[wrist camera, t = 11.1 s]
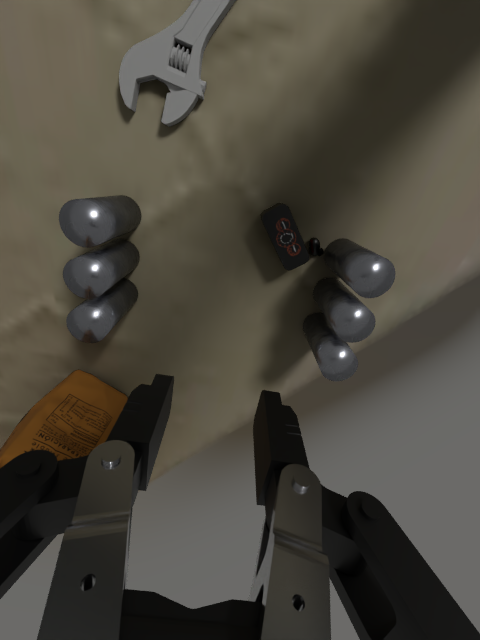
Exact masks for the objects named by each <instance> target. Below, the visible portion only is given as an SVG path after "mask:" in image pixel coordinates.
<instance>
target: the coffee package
mask: <svg viewBox="0 0 480 640" xmlns="http://www.w3.org/2000/svg"><path fill="white" fill-rule="evenodd" d="M127 400H128V398H127V396H126V395H125V394H123V393H121V392H119V391H118V390H116V389H115V388H113V387H111V386H109V385H107V384H105V383H104V382H102V381H100V380H99V379H98V378H96V377H95V376H93V375H92V374H89V373H86V372H83V371H81V370H76V371H74V372H72V373H71V374H70V375H69V376H68V377H67V378H66V379H64V380H63V381H62V382H61V383H60V384H58V385H57V386H56V387H55V388H54V389H53V390H51V391H50V392H49V393H48V394H47V395H45V396H44V397H43V398H42V399H41V400H40V401H39V402H38V403H37V404H35V405H34V406H33V407H32V408H31V409H30V411H29V412H28V413H27V414H26V415H25V416H24V417H23V418H22V420H21V421H20V422H19V423H18V425H17V426H16V428H15V429H14V431H13V432H12V433H11V435H10V436H9V438H8V439H7V441H6V442H5V444H4V445H3V447H2V448H1V450H0V468H1V467H3V466H4V465H5V464H7V463H8V462H9V461H11V460H12V459H13V458H15V457H17V456H18V455H20V454H23V453H25V452H28V451H32V450H47V451H50V452H52V453H53V454H54V455H55V456H56V458H57V461H59V460H66V459H72V458H78V457H83V456H86V455H89V454H90V453H91V452H92V450H93V449H94V448H95V447H97V446H98V445H100V444H102V443H104V442H105V441H106V440H107V438H108V436H109V434H110V432H111V430H112V428H113V426H114V425H115V423H116V421H117V419H118V417H119V415H120V413H121V411H122V410H123V407H124V405H125V404H126V403H127Z"/></svg>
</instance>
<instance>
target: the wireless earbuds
mask: <svg viewBox="0 0 480 640" xmlns="http://www.w3.org/2000/svg"><path fill="white" fill-rule="evenodd" d="M261 220H262V222H263V224H264V227H265V229H266V231H267V233H268V235H269V237H270V239H271V241H272V243H273V246H274V248H275V250H276V252H277V254H278V256H279V258H280V260H281V262H282V264H283V266H284V268H285V269H286V270H292V269H294V268H296V267H298V266H300V265H303V264H305V263H306V262H307V261H308V260H309V254H310V255H312V256H317V255H318V256H321V255H322V254H324V251H323V249H322V248H321V249H320V242H319V240H318V239H317V238H311V239H310V241H309V254H308V252H307V249H306V247H305V245H304V242H303V240H302V238H301V235H300V233H299V231H298V228H297V226H296V224H295V221H294V219H293V217H292V214H291V212H290V210H289V207H288V206H287V205H285V204H283V203H277V204H275V205H273V206H271V207H269V208H268V209H266V210H264V211H263V212H262V213H261Z"/></svg>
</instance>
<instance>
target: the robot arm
mask: <svg viewBox="0 0 480 640" xmlns="http://www.w3.org/2000/svg"><path fill="white" fill-rule="evenodd" d="M173 384H174V376H168V375H161V374H156V375H155V378H154V380H153V382H152V384H151V385H145V384H141V385H139V386H138V387H137V388H136V389H134V390H133V391H132V392H131V394H130V396H129V398H128V400H127V403H126V404H125V405H124V407H123V410H122V411H121V413H120V415H119V417H118V419H117V421H116V423H115V425H114V426H113V428H112V430H111V432H110V434H109V436H108V438H107V440H106V441H105V442H104V443H102V444H100V445H98V446H97V447H95V448H94V449H93V450H92V452H91V453H90V454H89V455H86V456H83V457H78V458H72V459H66V460H59V461H57V458H56V456H55V455H54V454H53V453H52V452H50V451H47V450H32V451H28V452H25V453H23V454H20V455H18V456H17V457H15V458H13V459H12V460H11V461H9V462H8V463H7V464H5V465H4V466H3V467H1V468H0V599H1V598H2V597H3V595H4V594H5V593H6V592H7V591H8V590H9V589H10V588H11V586H12V585H13V584H14V583H15V582H16V581H17V580H18V579H19V577H20V576H21V575H22V574H23V573H24V572H25V571H26V570H27V568H28V567H29V566H30V565H31V564H32V563H33V562H34V561H35V559H36V558H37V557H38V556H39V555H40V554H41V553H42V552H43V550H44V549H45V548H46V547H47V546H48V545H49V544H50V542H51V541H52V540H53V539H54V538H55V537H56V536H57V535H58V534H62V533H64V536H63V540H62V544H61V548H60V551H59V555H58V559H57V563H56V567H55V571H54V575H53V578H52V582H51V586H50V590H49V594H48V598H47V602H46V606H45V609H44V614H43V617H42V621H41V625H40V629H39V633H38V636H37V640H331V624H330V623H331V622H330V584H329V583H330V581H329V577H330V579H331V581H332V583H333V585H334V587H335V589H336V591H337V593H338V596H339V597H340V600H341V602H342V604H343V606H344V608H345V610H346V612H347V614H348V616H349V618H350V620H351V622H352V624H353V626H354V628H355V630H356V632H357V634H358V637H359V638H360V640H480V634H479V632H478V631H477V630H476V628H475V627H474V625H473V624H472V623H471V621H470V620H469V619H468V618H467V616H466V615H465V613H464V612H463V611H462V609H461V608H460V607H459V605H458V604H457V603H456V601H455V600H454V599H453V597H452V596H451V595H450V593H449V592H448V591H447V589H446V588H445V587H444V585H443V584H442V583H441V581H440V580H439V579H438V577H437V576H436V575H435V573H434V572H433V571H432V569H431V568H430V567H429V565H428V564H427V563H426V561H425V560H424V559H423V557H422V556H421V555H420V553H419V552H418V550H417V549H416V548H415V547H414V545H413V544H412V542H411V541H410V540H409V539H408V537H407V536H406V535H405V533H404V532H403V530H402V529H401V528H400V526H399V525H398V524H397V522H396V521H395V520H394V518H393V517H392V516H391V514H390V513H389V512H388V510H387V509H386V508H385V506H384V505H383V504H382V503H381V502H380V501H379V500H378V499H376V498H375V497H374V496H372V495H370V494H368V493H365V492H361V491H356V492H353V493H351V494H350V495H349V496H348V498H346V497H344V496H342V495H340V494H337V493H335V492H333V491H331V490H329V489H327V488H325V487H324V486H322V485H321V484H320V481H319V479H318V477H317V476H316V475H315V474H314V472H312V471H311V470H310V468H309V465H308V461H307V457H306V452H305V448H304V445H303V440H302V436H301V431H300V428H299V423H298V419H297V415H296V414H295V413H294V411H293V410H292V408H291V407H290V406H285V405H282V402H281V397H280V393H279V392H272V391H266V390H262V392H261V395H260V399H259V403H258V406H257V410H256V414H255V418H254V425H253V436H254V437H253V438H254V457H255V476H256V477H255V478H256V497H257V505H264V506H265V510H266V516H265V519H264V522H263V527H262V533H261V538H260V544H259V550H258V556H257V561H256V567H255V573H254V578H253V583H252V588H251V592H250V595H249V599H248V601H243V600H228V601H224V602H220V603H216V604H213V605H209V606H205V607H201V608H197V609H190V608H187V607H185V606H183V605H181V604H179V603H177V602H174V601H172V600H170V599H168V598H166V597H163V596H161V595H159V594H157V593H155V592H149V591H138V590H128V589H127V588H126V587H127V572H128V559H129V546H130V533H131V520H132V507H133V504H134V502H135V499H136V496H137V493H138V490H143V491H146V489H147V486H148V483H149V480H150V476H151V473H152V470H153V467H154V463H155V460H156V457H157V454H158V450H159V447H160V444H161V441H162V438H163V434H164V431H165V428H166V425H167V421H168V418H169V414H170V409H171V402H172V393H173Z"/></svg>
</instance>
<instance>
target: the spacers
mask: <svg viewBox="0 0 480 640" xmlns="http://www.w3.org/2000/svg"><path fill="white" fill-rule="evenodd" d="M140 221H141V211H140V208H139V206H138V205H137V203H136V202H135V201H134V200H133V199H131V198H130V197H127V196H123V195H119V196H108V197H96V198H85V199H75V200H71V201H68V202H67V203H65V204H64V205H63V207H62V208H61V210H60V214H59V222H60V226H61V229H62V231H63V233H64V234H65V236H66V237H67V238H68V239H69V240H70V241H72V242H73V243H75V244H76V245H79V246H82V247H94V246H96V245H99V244H101V243H104V242H106V241H108V240H111V239H113V238H115V237H118V236H120V235H122V234H125V233H127V232H130V231H132V230H134V229H136V228H137V227H138V225H139V224H140ZM139 259H140V256H139V252H138V250H137V248H136V247H135V245H134V244H132V243H131V242H130V241H127V240H124V239H117V240H114V241H112V242H110V243H108V244H105V245H103V246H101V247H99V248H96V249H94V250H92V251H90V252H87V253H85V254H83V255H81V256H78V257H76V258H74V259H72V260H70V261H69V262H68V263H67V264H66V265H65V267H64V270H63V278H64V281H65V283H66V285H67V287H68V288H69V289H70V290H71V291H72V292H73V293H74V294H76V295H77V296H79V297H82V298H86V299H87V300H85V301H84V302H83V303H81V304H80V305H79V306H77V307H76V308H75V309H73V310H72V311H71V312H70V313H69V314H68V316H67V327H68V329H69V331H70V333H71V334H72V335H73V336H74V337H75V338H77V339H78V340H80V341H83V342H86V343H96V342H99V341H101V340H102V339H103V338H104V337H105V336H106V335H107V334H108V333H109V331H110V330H111V329H112V328H113V327H114V326H115V325H116V324H117V322H118V321H119V320H120V319H121V318H122V317H123V316H124V315H125V313H126V312H127V311H128V310H129V309H130V308H131V307H132V306H133V304H134V303H135V302H136V301H137V299H138V291H137V288H136V286H135V285H134V284H133V283H132V282H131V281H129V280H127V279H124V278H123V277H124V276H126V275H127V274H128V273H129V272H131V271H132V270H133V269H134V268H136V266H137V265H138V263H139ZM324 260H325V263H326V265H327V266H328V267H329V268H330V269H331V270H332V271H333V272H334V273H336V274H337V275H338V276H339V277H340V278H341V279H342V280H343V281H344V282H345V283H346V284H347V285H349V286H350V287H351V288H352V289H353V290H354V291H355V292H356V293H357V294H358V295H360V296H362V297H365V298H374V297H378V296H380V295H382V294H384V293H385V292H386V291H388V290H389V288H390V287H391V286H392V284H393V282H394V279H395V268H394V266H393V264H392V263H391V262H390V261H389V260H388V259H386V258H384V257H382V256H380V255H378V254H376V253H374V252H372V251H370V250H368V249H366V248H364V247H362V246H360V245H358V244H356V243H354V242H352V241H350V240H348V239H337V240H335V241H333V242H332V243H330V244H329V245H328V247H327V248H326V250H325V254H324ZM313 298H314V300H315V301H316V303H317V305H318V306H319V308H320V309H321V311H322V312H323V313H320V312H317V313H313V314H311V315H309V316H308V317H307V318H306V319H305V320H304V322H303V331H304V333H305V336H306V338H307V340H308V343H309V345H310V347H311V349H312V352H313V354H314V356H315V359H316V361H317V363H318V365H319V368H320V370H321V372H322V374H323V376H324V377H325V378H327V379H329V380H331V381H342V380H345V379H348V378H349V377H351V376H352V375H353V374H354V373H355V371H356V370H357V367H358V360H357V358H356V356H355V355H354V353H353V352H352V350H351V349H350V347H349V346H348V344H347V343H346V342H359V341H361V340H363V339H365V338H367V337H368V336H369V335H370V334H371V333H372V331H373V329H374V327H375V317H374V315H373V313H372V312H371V311H370V310H369V309H368V308H367V307H366V306H365V305H364V304H363V303H362V302H361V301H360V300H359V299H358V298H357V297H356V296H355V295H353V294H352V293H351V292H350V291H349V290H348V289H347V288H346V287H345V286H344V285H343V284H342V283H341V282H340V281H339V280H337V279H335V278H324V279H322V280H320V281H319V282H318V283H317V284H316V285H315V287H314V289H313Z"/></svg>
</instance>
